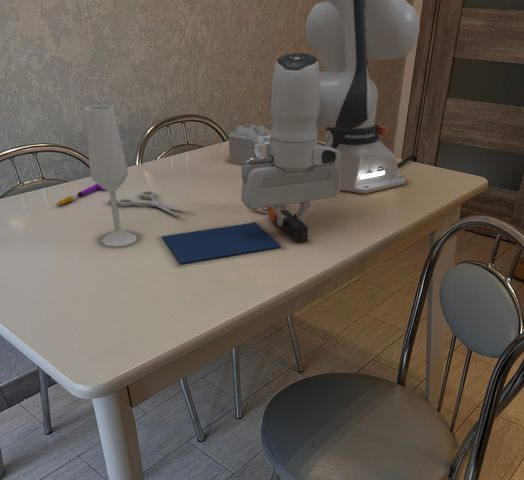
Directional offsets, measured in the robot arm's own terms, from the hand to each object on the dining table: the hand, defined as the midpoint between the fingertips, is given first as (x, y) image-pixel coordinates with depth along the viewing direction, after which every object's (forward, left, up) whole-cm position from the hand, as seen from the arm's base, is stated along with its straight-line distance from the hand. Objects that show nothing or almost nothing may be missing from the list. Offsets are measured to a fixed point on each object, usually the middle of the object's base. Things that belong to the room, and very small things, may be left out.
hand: (290, 223), depth 108 cm
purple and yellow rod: (+36, -37, -2) cm, 52 cm away
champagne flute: (+33, -9, -2) cm, 34 cm away
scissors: (+22, -24, -2) cm, 33 cm away
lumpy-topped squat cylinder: (-13, -53, -2) cm, 55 cm away
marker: (0, 0, -2) cm, 2 cm away
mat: (+15, 0, -2) cm, 15 cm away
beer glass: (-1, -14, -2) cm, 14 cm away
